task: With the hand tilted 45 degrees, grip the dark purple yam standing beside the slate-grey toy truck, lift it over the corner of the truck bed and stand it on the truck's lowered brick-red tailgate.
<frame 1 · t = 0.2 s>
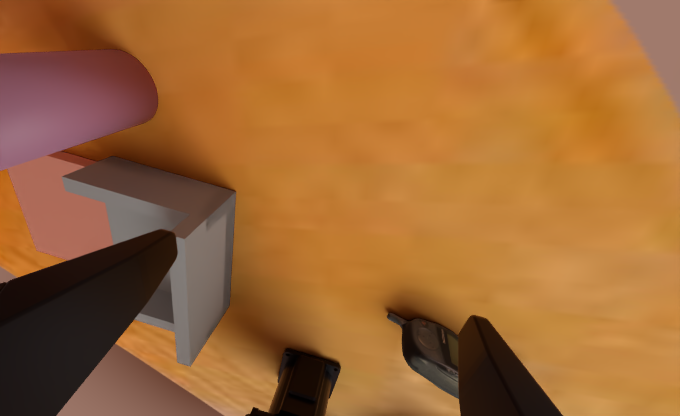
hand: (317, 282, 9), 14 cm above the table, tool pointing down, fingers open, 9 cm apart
yam: (125, 88, 23), on the table
mobile phone: (455, 343, 30), on the table
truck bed: (177, 239, 29), on the table
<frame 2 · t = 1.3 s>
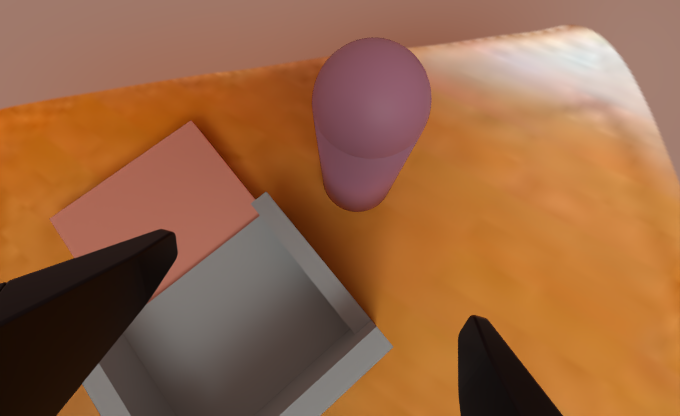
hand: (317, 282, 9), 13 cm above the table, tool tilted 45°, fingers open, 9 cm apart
yam: (356, 179, 24), on the table
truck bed: (247, 330, 21), on the table
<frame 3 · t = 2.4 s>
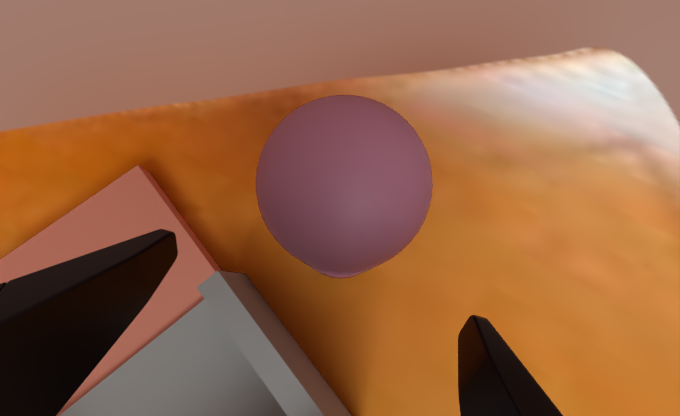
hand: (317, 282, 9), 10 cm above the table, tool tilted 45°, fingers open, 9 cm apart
yam: (340, 236, 20), on the table
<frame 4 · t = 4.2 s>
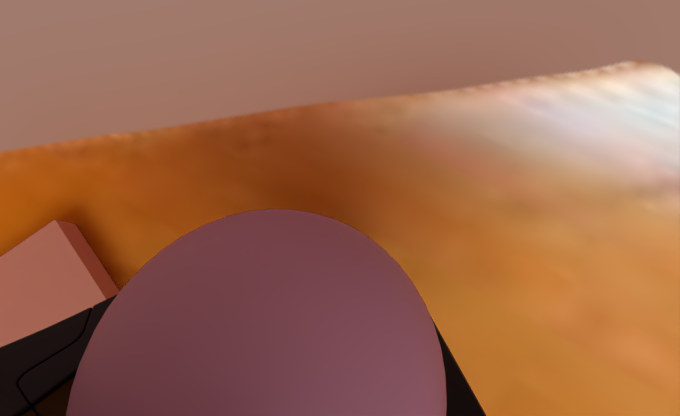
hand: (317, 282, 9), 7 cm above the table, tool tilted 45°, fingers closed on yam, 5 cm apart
yam: (318, 309, 15), on the table, touching gripper
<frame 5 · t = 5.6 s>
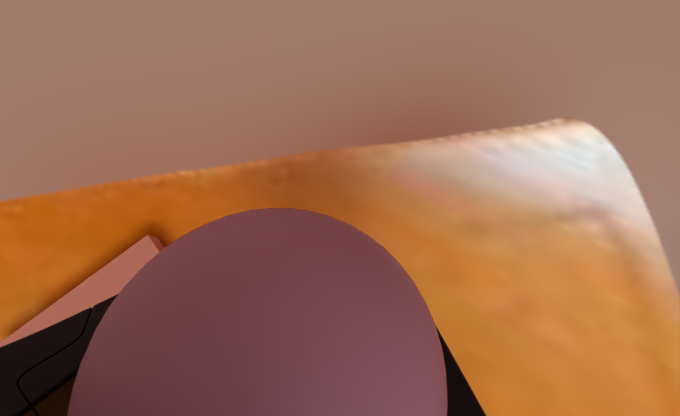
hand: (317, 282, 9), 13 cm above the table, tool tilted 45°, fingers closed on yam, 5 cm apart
yam: (318, 309, 15), point 7 cm above the table, touching gripper
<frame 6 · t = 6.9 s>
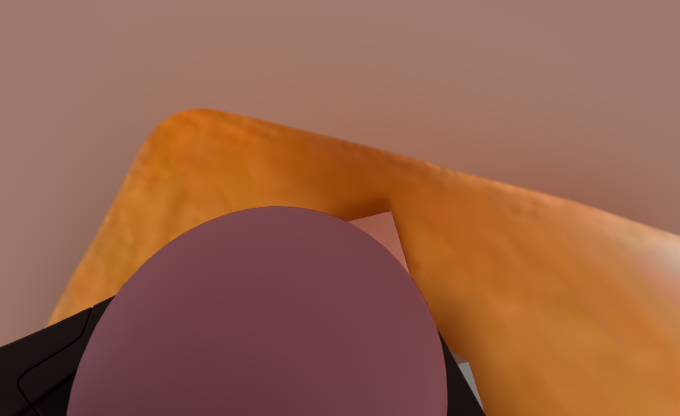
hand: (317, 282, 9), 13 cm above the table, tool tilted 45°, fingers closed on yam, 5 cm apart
yam: (318, 308, 15), point 6 cm above the table, touching gripper
when the fingers open (9 cm above the table, at t = 8.1 s): yam drops 1 cm, resting on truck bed.
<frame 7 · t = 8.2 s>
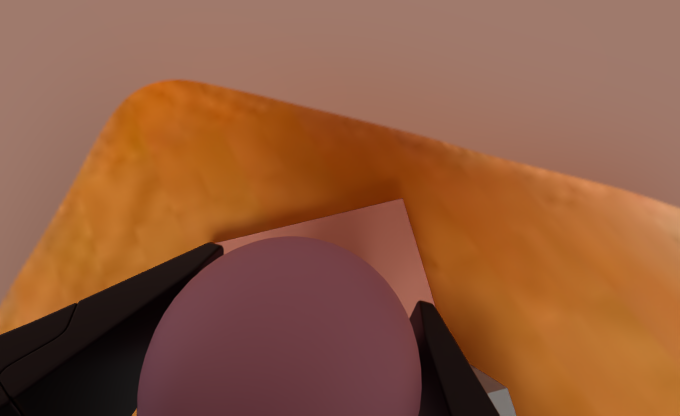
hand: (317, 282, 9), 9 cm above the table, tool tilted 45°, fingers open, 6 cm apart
yam: (320, 307, 17), point 1 cm above the table, touching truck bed
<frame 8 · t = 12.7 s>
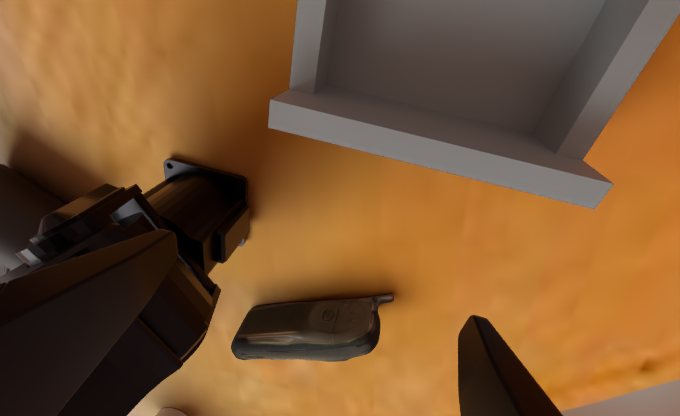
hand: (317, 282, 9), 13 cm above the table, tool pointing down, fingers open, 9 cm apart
mobile phone: (317, 305, 29), on the table
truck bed: (454, 19, 16), on the table
house plant: (176, 411, 47), on the table
black boxy device: (61, 204, 29), on the table
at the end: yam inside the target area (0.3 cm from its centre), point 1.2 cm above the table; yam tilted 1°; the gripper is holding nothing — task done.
